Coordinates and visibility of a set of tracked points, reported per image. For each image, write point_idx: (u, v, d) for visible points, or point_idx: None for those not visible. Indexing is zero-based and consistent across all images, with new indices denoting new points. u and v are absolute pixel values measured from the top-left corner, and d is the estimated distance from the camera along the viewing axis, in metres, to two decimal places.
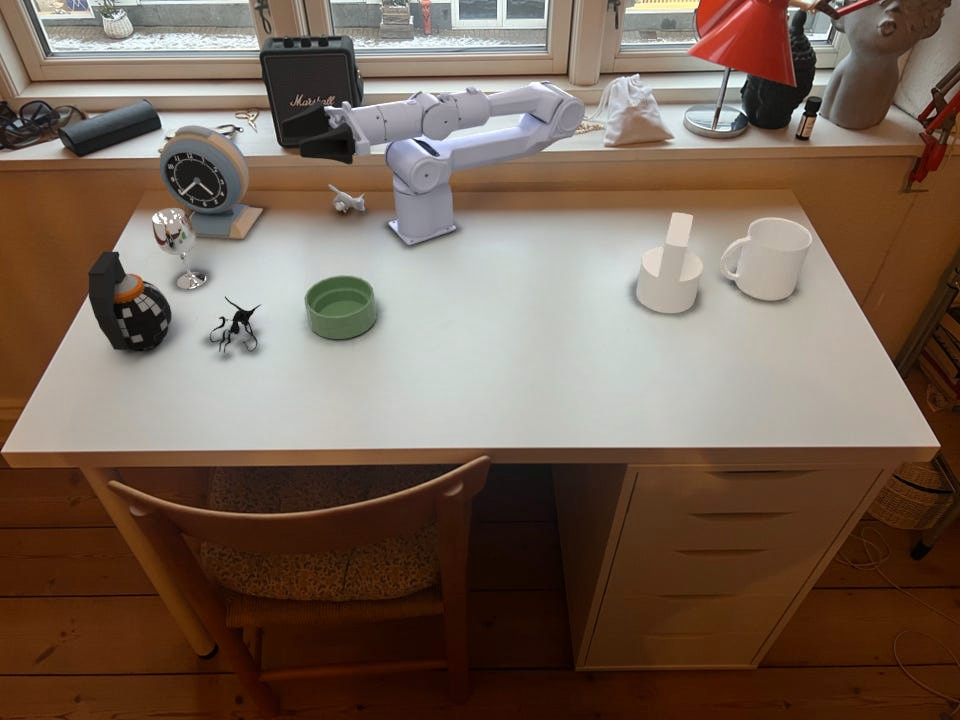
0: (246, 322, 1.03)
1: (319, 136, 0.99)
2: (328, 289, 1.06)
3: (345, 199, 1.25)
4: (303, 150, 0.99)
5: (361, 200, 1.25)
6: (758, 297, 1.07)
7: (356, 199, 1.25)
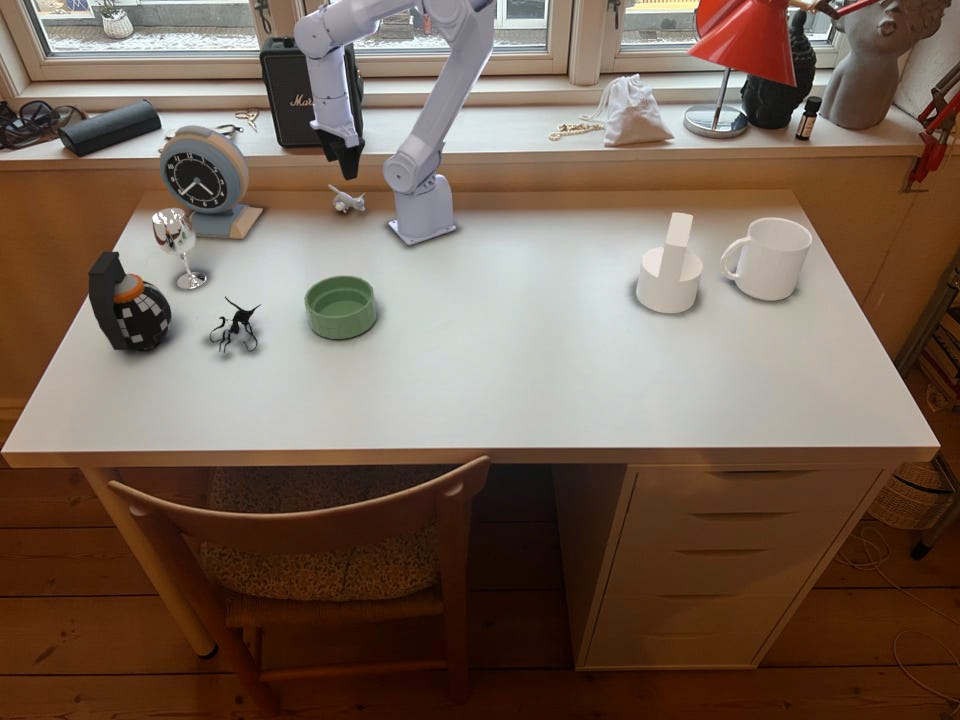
0: (246, 322, 1.03)
1: (340, 165, 1.17)
2: (328, 289, 1.06)
3: (345, 199, 1.25)
4: (351, 177, 1.19)
5: (361, 200, 1.25)
6: (758, 297, 1.07)
7: (356, 199, 1.25)
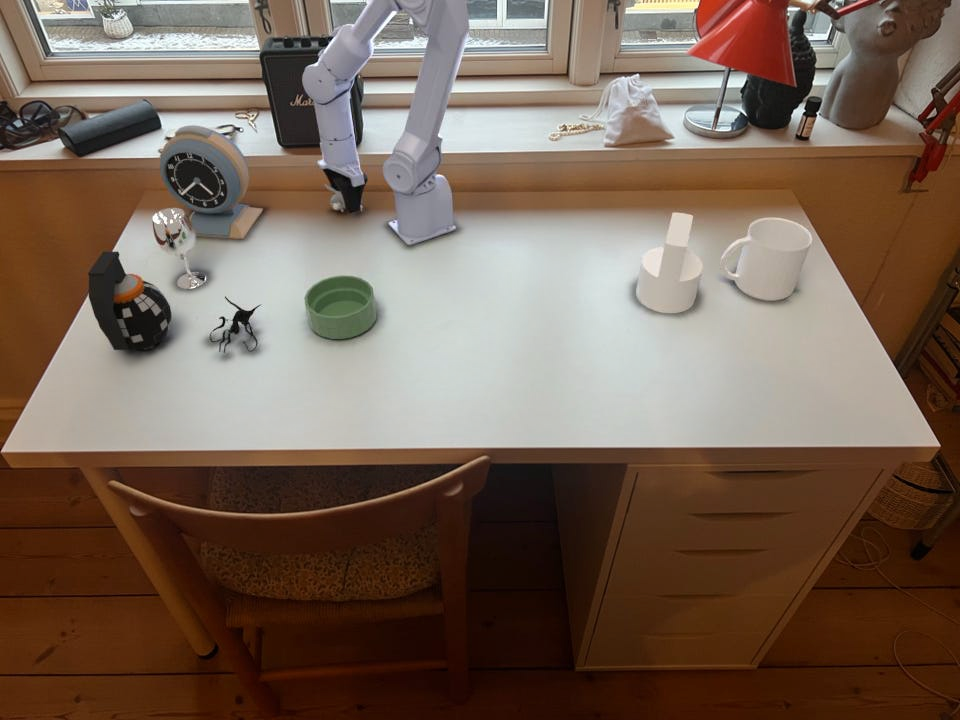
0: (246, 322, 1.03)
1: (344, 200, 1.22)
2: (328, 289, 1.06)
3: None
4: (354, 210, 1.25)
5: None
6: (758, 297, 1.07)
7: None
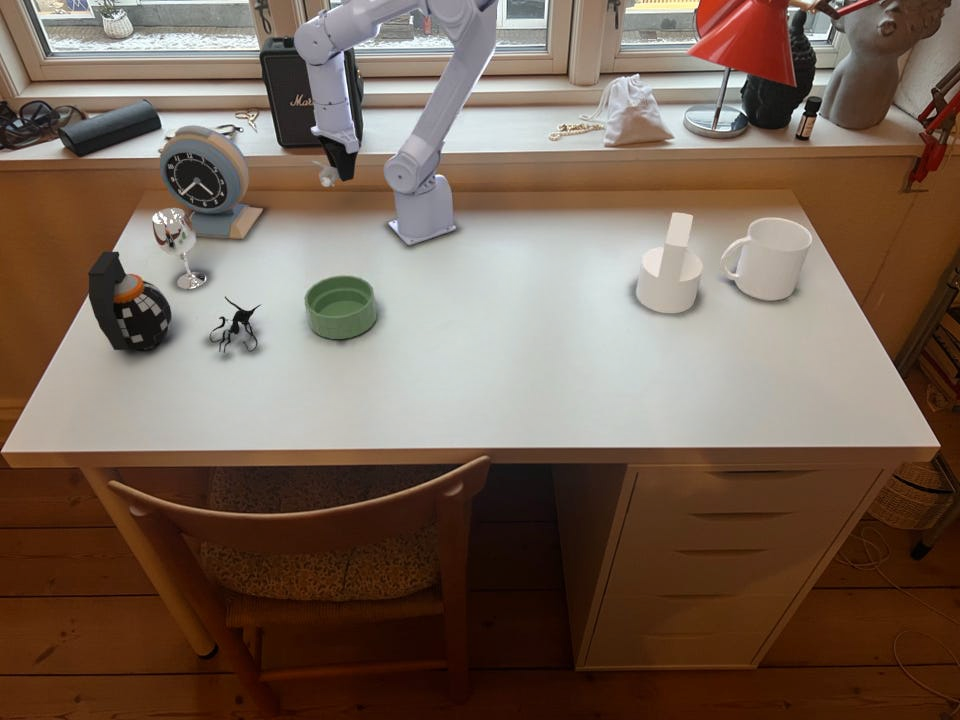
0: (246, 322, 1.03)
1: (336, 167, 1.18)
2: (328, 289, 1.06)
3: (333, 170, 1.20)
4: (348, 178, 1.20)
5: None
6: (758, 297, 1.07)
7: None
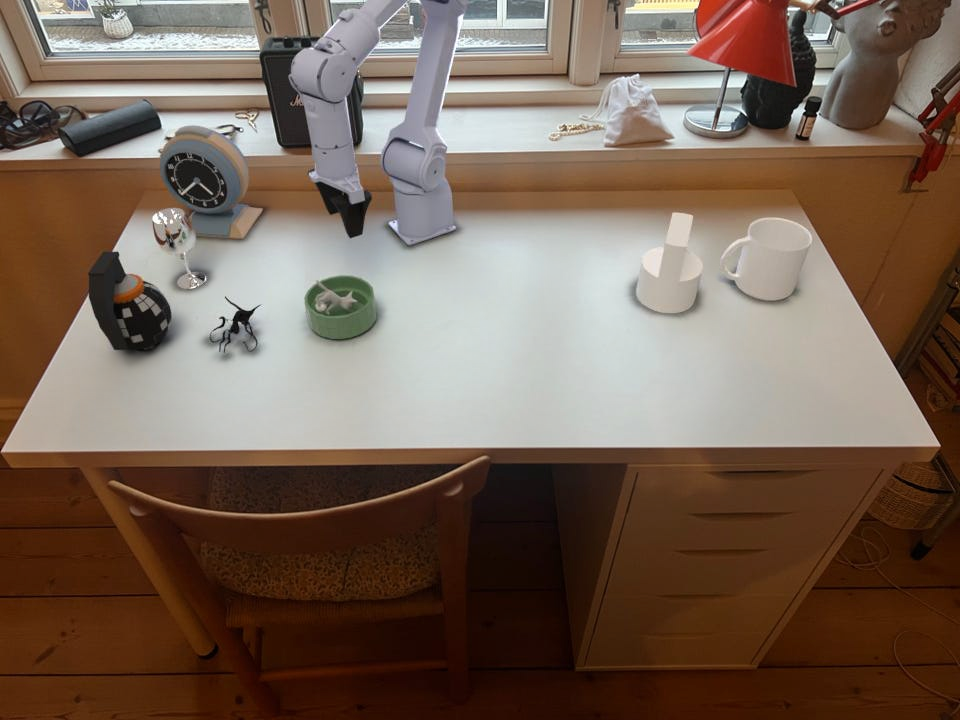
0: (246, 322, 1.03)
1: (343, 222, 1.02)
2: (328, 289, 1.06)
3: (335, 298, 1.02)
4: (356, 234, 1.05)
5: None
6: (758, 297, 1.07)
7: (347, 298, 1.03)
